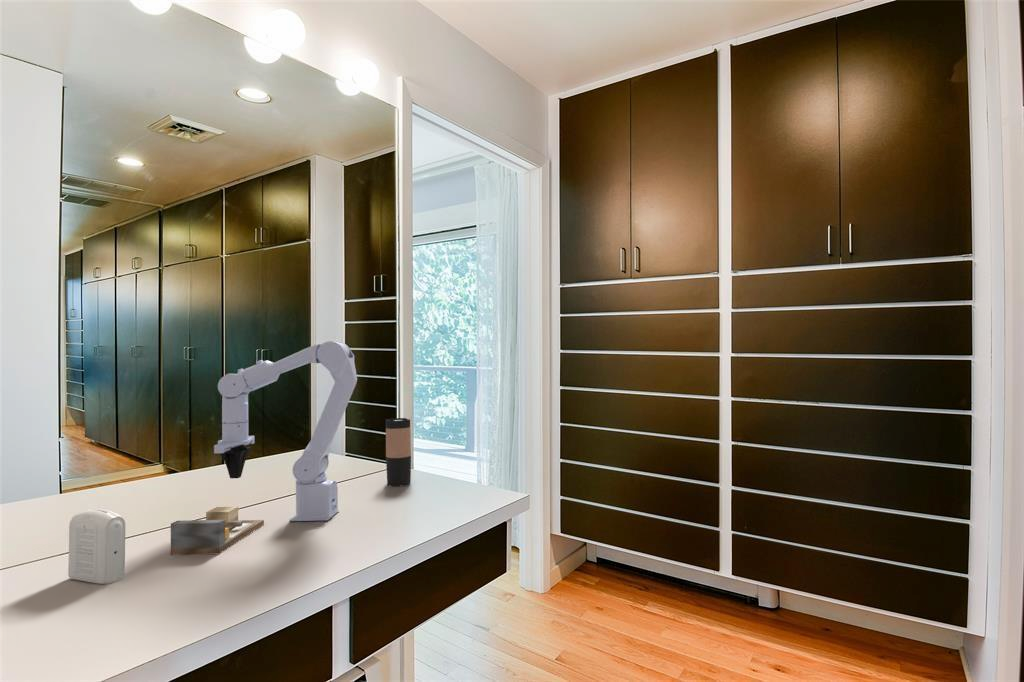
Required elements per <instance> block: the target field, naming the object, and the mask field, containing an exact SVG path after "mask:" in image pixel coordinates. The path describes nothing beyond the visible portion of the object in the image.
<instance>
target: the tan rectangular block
mask: <svg viewBox="0 0 1024 682" xmlns="http://www.w3.org/2000/svg"><path fill="white" fill-rule="evenodd" d="M205 520H225V528H229V529H231V528H233V527H240V526H242V521H238V520H239V506H216V507H215V508H214V507H213V508H212V509H210V510H208V511H206V512H205Z"/></svg>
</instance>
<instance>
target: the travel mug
mask: <svg viewBox="0 0 1024 682" xmlns="http://www.w3.org/2000/svg"><path fill="white" fill-rule="evenodd" d="M411 435H412V434H411V418H409V419H408V418H406V417H395V418H388V419H385V462H386V463H385V464H386V483H387V486H389V485H391V486H390V487H401V486H400V485H404V486H407V485H406V484H408V485H410V484H411V483H412V482H411V475H412V474H411V473H412V472H411V471H412V447H411V446H412V443H411V442H412V441H411V440H412V439H411V437H412V436H411ZM409 483H410V484H409Z"/></svg>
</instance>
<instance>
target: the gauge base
mask: <svg viewBox="0 0 1024 682" xmlns="http://www.w3.org/2000/svg"><path fill="white" fill-rule="evenodd" d="M238 521H242V526H240V527H233V528H231V529H229V537H228V538H227V539H225V520H206V519H204V520H203V519H200V520H198V519H195V520H194V519H193V520H192V519H191V520H185V519H184V520H175V521H173V522H172V523H170V555H171V554H179V555H211V554H210V553H220V554H221V552H222V551H223V552H225V551H226V550H228V549H229V548H231V547H232V546H234V545H235V544H237V543H239V542H240V541H242V540H243V539H245V538H246V537H248V536H250V535H251V534H252V533H254V532H255V531H254V530H256V529H257V530H258V528H259V527H260V528H262V527H263V526H264V525H265V519H250V520H249V519H247V520H246V519H245V520H243V519H242V520H239V519H238ZM262 525H263V526H262ZM261 526H262V527H261ZM260 528H259V529H260ZM257 530H256V531H257ZM253 531H254V532H253ZM251 532H252V533H251ZM250 533H251V534H250ZM247 535H248V536H247ZM244 537H245V538H244ZM242 538H243V539H242ZM241 539H242V540H241ZM239 540H240V541H239ZM238 541H239V542H238ZM236 542H237V543H236ZM234 543H235V544H234ZM233 544H234V545H233ZM231 545H232V546H231ZM230 546H231V547H230ZM228 547H229V548H228ZM227 548H228V549H227ZM225 549H226V550H225ZM224 550H225V551H224ZM223 552H222V553H223Z"/></svg>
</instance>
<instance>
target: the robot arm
mask: <svg viewBox="0 0 1024 682" xmlns="http://www.w3.org/2000/svg"><path fill="white" fill-rule="evenodd" d="M308 364H321V365H322V366H323V367H325V369H326V370H327V371H329V374H330V375H331V377H332V379H333V381H334V384H333V387H332V388H331V390H330V394H329V396H328V398H327V401H326V403H325V406H324V408H323V410H322V412H321V415H320V417H319V420H318V422H317V425H316V427H315V429H314V431H313V434H312V436H311V439H310V441H309V442H308V444H307V446H306V447H305V449H304V450H303V452H302V455H301V456H300V457H299V458H298V459H297V460H296V461H295V462H294V464H293V466H292V475H293V477H294V478H295V515H293V516H292V517H290V518H289V519H288V521H289V522H307V521H309V522H310V521H311V522H315V521H316V522H317V521H328V520H330V519H331V518H333V516H335V515H337V513H338V512H340V510H339V507H338V506H339V504H338V503H339V502H338V498H339V497H338V494H339V493H338V490H339V489H338V483H337V481H336V480H330V479H327V478H328V477H327V475H326V471H327V469H328V468H329V464H330V463H329V462H330V461H329V456H330V452H331V445H332V443H333V440H334V438H335V436H336V433H337V430H338V428H339V426H340V424H341V421H342V419H343V416H344V413H345V412H346V409H347V407H348V404H349V401H350V399H351V398H352V397H351V396H352V395H353V392H354V390H355V388H356V385H357V382H358V376H357V370H356V363H355V355H354V353H353V352H352V349H351V348H350V347H349V346H348V345H347V344H346V343H344V342H338V341H337V342H336V341H333V340H329V341H324V342H323V343H321V344H320V343H319V344H313V345H311V346H308V347H306V348H303V349H302V350H300V351H298V352H295V353H292V354H291V355H288V356H286V357H284V358H282V359H279V360H277V361H275V362H273V361H270V360H263V359H260V360H257V361H256V362H255V364H254V365H251V366H249V367H246V368H239V369H237V373H226V374H225V375H224V376H222V377H221V378H220V379H219V381H218V383H217V390H218V392H219V394H220V395H221V397H222V398H221V401H222V402H221V423H222V424H221V429H222V430H221V433H222V435H221V439H220V440H217V444H214V445H213V454H219V456H221V458H222V460H223V461H224V464H225V466H226V469H227V473H228V476H229V478H230V479H240V478H242V474H243V471H244V466H245V463H246V460H247V458H248V455H249V454H250V452H251V450H252V449H251V446H248V445H253V444H255V435H249V394H250V392H253V391H255V390H259V389H260V388H264V387H265V386H268V385H269V384H272V383H274V382H277V381H278V379H279V377H280V375H281V374H283V373H286V372H289V371H291V370H294V369H297V368H299V367H302V366H304V365H308Z"/></svg>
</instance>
